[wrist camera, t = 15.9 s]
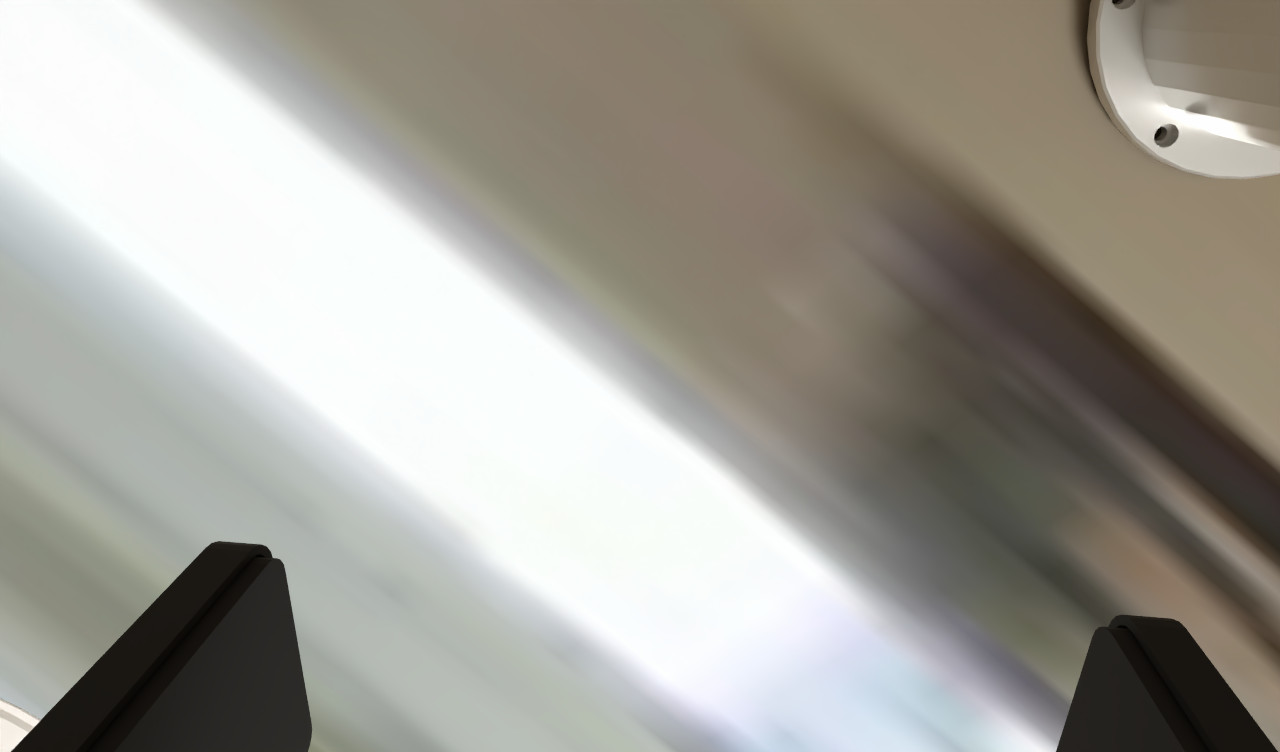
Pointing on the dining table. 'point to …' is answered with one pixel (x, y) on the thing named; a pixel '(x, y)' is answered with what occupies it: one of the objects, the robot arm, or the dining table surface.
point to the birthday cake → (14, 725)
